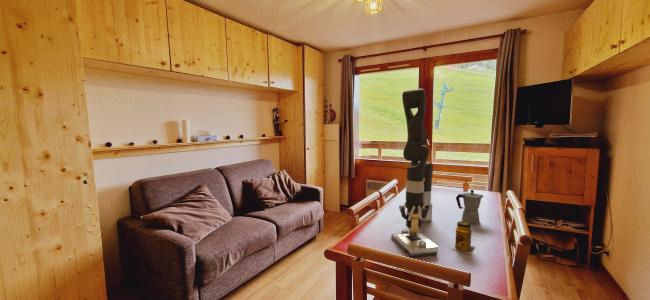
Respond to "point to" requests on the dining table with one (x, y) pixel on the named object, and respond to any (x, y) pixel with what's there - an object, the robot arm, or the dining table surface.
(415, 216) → the brass pin
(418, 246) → the slotted plate with knobs
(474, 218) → the coffeepot
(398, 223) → the dining table surface
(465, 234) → the yellow jar
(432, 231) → the dining table surface
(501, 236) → the dining table surface
